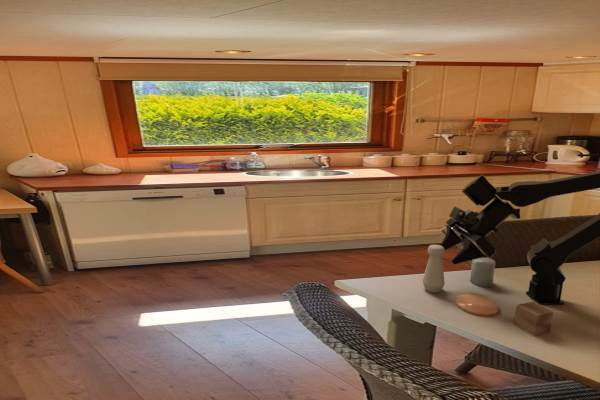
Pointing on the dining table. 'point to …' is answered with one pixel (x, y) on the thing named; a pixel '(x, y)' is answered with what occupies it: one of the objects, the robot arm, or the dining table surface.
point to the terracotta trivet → (477, 304)
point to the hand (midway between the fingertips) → (445, 256)
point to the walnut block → (533, 318)
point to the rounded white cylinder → (482, 272)
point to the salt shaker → (434, 270)
